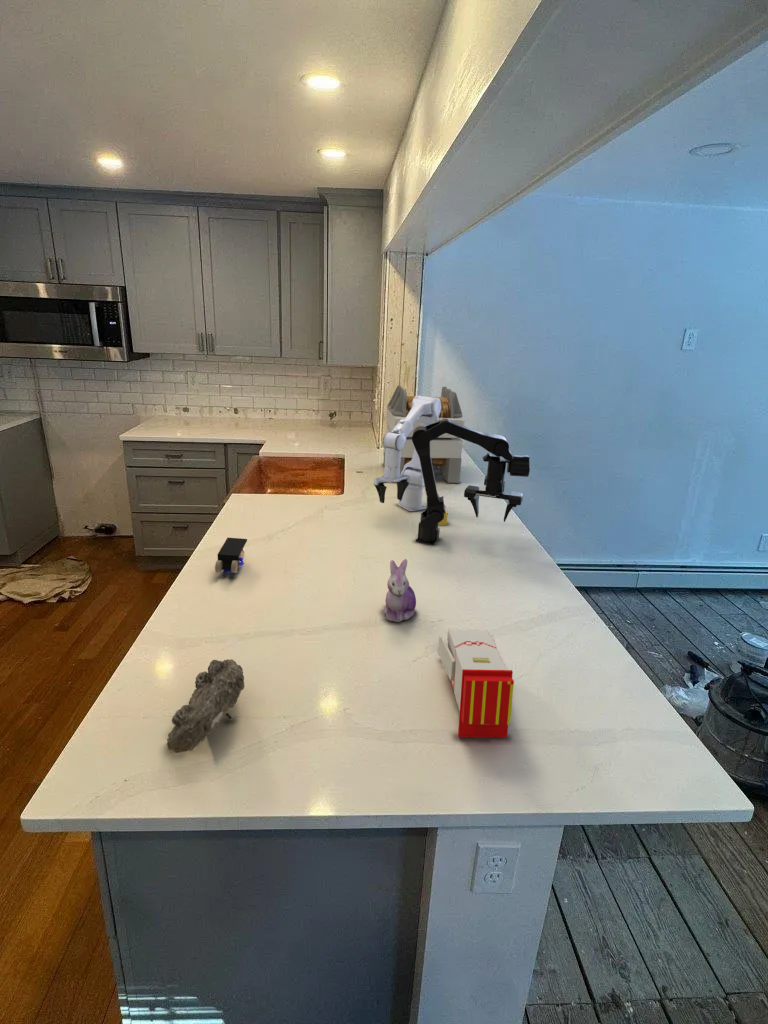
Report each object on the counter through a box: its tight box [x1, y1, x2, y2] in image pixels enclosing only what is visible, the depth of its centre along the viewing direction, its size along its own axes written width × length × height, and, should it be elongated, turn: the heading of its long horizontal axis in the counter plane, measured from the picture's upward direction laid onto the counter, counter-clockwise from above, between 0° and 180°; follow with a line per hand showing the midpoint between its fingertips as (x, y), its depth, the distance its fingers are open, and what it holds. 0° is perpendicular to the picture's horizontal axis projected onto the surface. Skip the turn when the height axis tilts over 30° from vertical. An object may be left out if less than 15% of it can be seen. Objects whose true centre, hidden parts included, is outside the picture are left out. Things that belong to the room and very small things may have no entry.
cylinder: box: [438, 509, 449, 526], centre depth 211 cm, size 4×4×5 cm
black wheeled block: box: [214, 537, 248, 578], centre depth 166 cm, size 7×8×15 cm
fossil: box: [166, 658, 245, 754], centre depth 106 cm, size 22×10×15 cm
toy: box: [437, 628, 515, 738], centre depth 117 cm, size 12×13×30 cm
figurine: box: [384, 558, 417, 623], centre depth 145 cm, size 9×10×15 cm
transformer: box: [383, 384, 465, 484], centre depth 268 cm, size 34×33×41 cm
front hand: (490, 519), depth 191 cm, fingers open, 9 cm apart
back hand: (390, 500), depth 211 cm, fingers open, 7 cm apart
